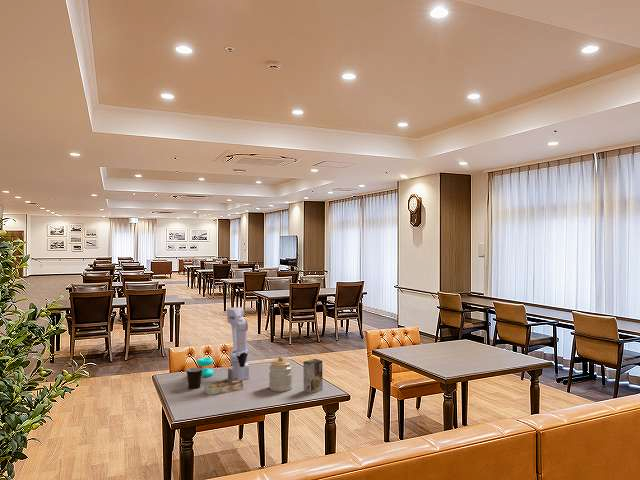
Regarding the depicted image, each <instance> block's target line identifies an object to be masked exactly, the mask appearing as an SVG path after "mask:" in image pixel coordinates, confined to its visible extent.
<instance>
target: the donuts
mask: <svg viewBox="0 0 640 480" xmlns="http://www.w3.org/2000/svg"><path fill="white" fill-rule="evenodd" d="M213 363H214V359H213V358H212V357H201V358H198V359H197V360H196V364H197V365H198V366H200V367H205V368H202V377H201V378H208V377H209V378H210V377H212V376H213V375H214V370H213V369H212V368H209V367H208V366H211V365H213ZM206 367H207V368H206Z"/></svg>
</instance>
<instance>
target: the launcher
mask: <svg viewBox="0 0 640 480" xmlns="http://www.w3.org/2000/svg"><path fill="white" fill-rule="evenodd" d="M243 381H244V380H238V378H234V381H232V382H231V383H225V379H221V380H217V381H216V383H215V384H217V386H218V387H221V393H220V394H225V393H230V392H235V391H240V390H241V391H242V390H243V389H244V383H243Z"/></svg>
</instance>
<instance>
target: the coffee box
mask: <svg viewBox="0 0 640 480" xmlns="http://www.w3.org/2000/svg"><path fill="white" fill-rule="evenodd" d="M302 363H303V365H302V366H303V392H307V393H310V394H313V393H315V392H316V393H317V392H319V391H322V390H323V389H324V388H323V387H324V386H323V383H324V382H323V360H320V359H319V358H313V359H308V360H305V361H303V362H302Z"/></svg>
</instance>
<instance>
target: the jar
mask: <svg viewBox="0 0 640 480" xmlns="http://www.w3.org/2000/svg"><path fill="white" fill-rule="evenodd" d="M291 363H292V362H291V361H289V359H285V358H284V357H283V356H279V357H278V358H277V359H274V360H272V361H271V362H270V366H269V367H268V368H269V372H268V375H269V377H268V378H269V381H268V382H269V383H268V387H269V390H270V391H273V392H278V393H279V392H281V393H282V392H288V391H290V390H292V388H293V371H292V368H293V366H292V364H291Z"/></svg>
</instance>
